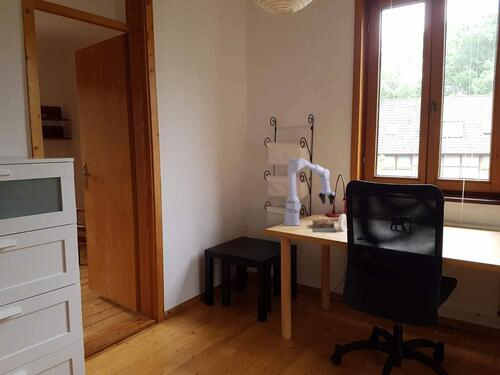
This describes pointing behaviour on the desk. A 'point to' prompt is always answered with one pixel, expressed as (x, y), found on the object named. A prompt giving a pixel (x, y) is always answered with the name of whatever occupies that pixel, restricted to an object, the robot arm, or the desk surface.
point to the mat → (324, 230)
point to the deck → (323, 224)
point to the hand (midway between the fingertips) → (327, 204)
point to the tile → (322, 219)
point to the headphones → (342, 222)
